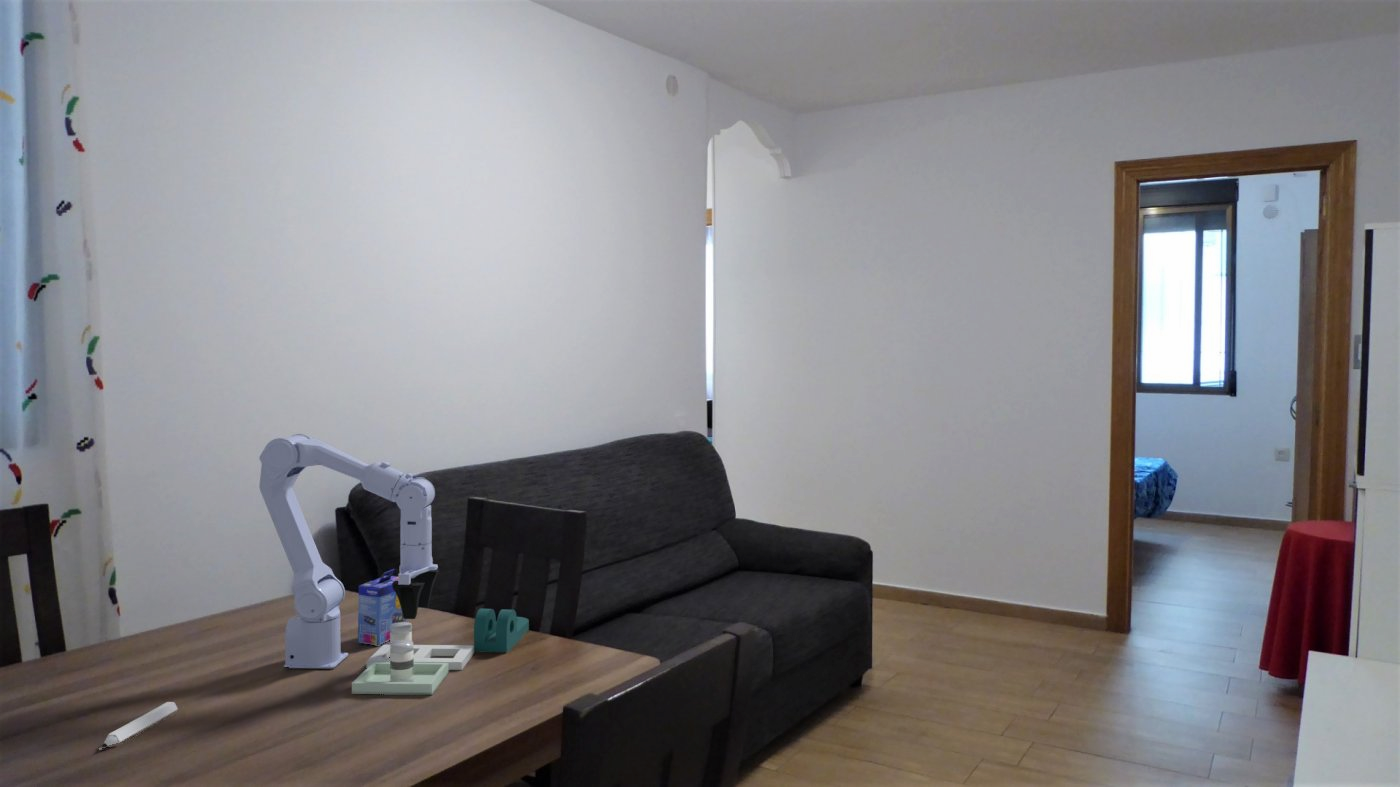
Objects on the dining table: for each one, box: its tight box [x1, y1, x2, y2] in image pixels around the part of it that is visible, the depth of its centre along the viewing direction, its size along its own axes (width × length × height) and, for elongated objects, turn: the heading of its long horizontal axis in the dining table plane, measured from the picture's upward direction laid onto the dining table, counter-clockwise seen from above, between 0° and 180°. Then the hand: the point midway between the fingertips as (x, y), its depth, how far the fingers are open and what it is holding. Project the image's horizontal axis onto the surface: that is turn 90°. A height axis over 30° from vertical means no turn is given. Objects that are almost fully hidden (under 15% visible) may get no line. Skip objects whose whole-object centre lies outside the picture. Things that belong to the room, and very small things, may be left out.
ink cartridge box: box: [357, 568, 407, 647], centre depth 196 cm, size 10×6×14 cm, turn 163°
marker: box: [98, 701, 179, 751], centre depth 148 cm, size 3×2×16 cm
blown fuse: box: [389, 640, 414, 682], centre depth 171 cm, size 4×4×7 cm
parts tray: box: [351, 662, 449, 696], centre depth 171 cm, size 14×11×2 cm
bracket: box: [473, 608, 530, 653], centre depth 198 cm, size 18×7×8 cm, turn 174°
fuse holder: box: [365, 644, 475, 671], centre depth 183 cm, size 18×10×2 cm, turn 90°
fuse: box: [389, 621, 413, 645], centre depth 183 cm, size 4×4×7 cm
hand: (416, 612), depth 181 cm, fingers open, 7 cm apart
